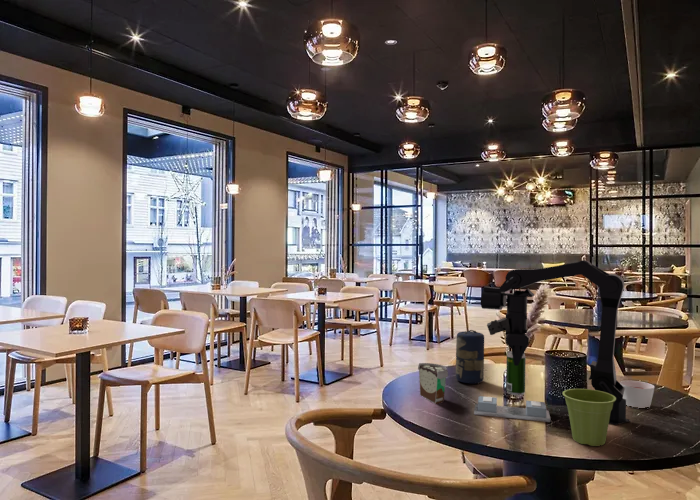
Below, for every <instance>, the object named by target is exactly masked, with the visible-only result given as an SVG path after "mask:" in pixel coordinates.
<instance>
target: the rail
mask: <svg viewBox="0 0 700 500" xmlns="http://www.w3.org/2000/svg"><path fill="white" fill-rule="evenodd" d="M473 414H474V415H476V416H488V417H494V418H495V417H496V418H497V417H498V418H506V419H515V420H526V421H527V420H528V421H535V422H544V423H551V416H550V411H549V410H547V409H546V417H537V416H527V413H526V407H525V408H524V407H518V406H517V407H514V406H505V405H503V406H502V405H497V409H496V412H487V411H478V403H475V405H474V409H473Z"/></svg>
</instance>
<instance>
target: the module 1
mask: <svg viewBox="0 0 700 500" xmlns="http://www.w3.org/2000/svg"><path fill="white" fill-rule="evenodd" d="M497 403H498V397H492V396H483V395H482V396H481V395H480V396H478V399H477V404H478V411H487V412H496V409H497V406H498V405H497Z"/></svg>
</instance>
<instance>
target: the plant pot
mask: <svg viewBox="0 0 700 500" xmlns="http://www.w3.org/2000/svg"><path fill="white" fill-rule="evenodd" d="M562 395H563V397H564V399H565V404H566V406H567V407H566V408H567V412H568V418H569V422H570V423H569V424H570V429H571V437H572V439H573V440H574V441H575V442H577V443H578V444H581V445H589V446H591V447H598V446H599V447H600V445H601V446H603V445H605V443H606V440H607V436H608V431H609V424H610V423H609V419H610V413H611V410H612V407H613V402H615V401H616V397H615V396H613V395H612V394H609V393H606V392H603V391H598V390H595V389H592V388H591V389H589V388H571V389H565V390H564V391H562Z"/></svg>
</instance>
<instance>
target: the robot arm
mask: <svg viewBox="0 0 700 500" xmlns="http://www.w3.org/2000/svg"><path fill="white" fill-rule="evenodd" d="M579 275H580V276H583V277H585V278H586V279H587V280H588V281H590V282H591V283H593V284H594V285H596V286H597V287H599V298H600V302H601V320H600V321H601V322H600V332H599V333H600V334H599V341H598V344H599V345H598V346H599V347H598V354H597V355H598V357H597V360H596V361H595V360H592V361H591V362H590V365H589V368H590V370H589V371H590V375H589V378H588V380H589V381H590V380H591V381H590V383H591V387H592V388H593V390H598V391H603V392H606V393H609V394H612V395H613V396H615V397H616V401H615V402H613V407H612V410H611V413H610V419H609V424H611V425H614V426H617V425H621V424H624V423H629V422H630V419H628V418H627V406H626V399H623V394H624V391H625V388H624V387H623V386H622V385H621V384H620V381H619V380H617V373H616V372H617V371H616V364H615V359H614V357H615V344H616V334H617V332H616V331H617V321H618V320H617V319H618V309H619V306H620V303H621V302H620V301H621V299H622V295H623V291H624V289H625V281H624V279H623V278H622V277H621V276H620V275H618V274H615V273H613V274H612V273H611V274H610V273H609V272H606V271H605V270H604V269H601V268H600V267H598V266H596V265H594V264H592V263H591V262H590V261H588V260H586V259H585V260H583V259H581V260H580V261H575V262H571V263H565V264H559V265H554V266H547V267H542V268H515V269H511V270H509V271H508V272H507V273H506V274H505V280H504V281H503V283H502V285H500V286H499V287H493V286H492V287H490V286H483V288H482V290H483V291H482V293H481V297H480V306H481V309H483V310H485V309H487V310H494V311H495V310H498V311H501V310H502V309H503V308H505V307H506V314H505V317H504V318H500V319H494V320H491V321H490V322H487V323H486V326H487V329H488V332H489V335H490V336H493V335H496V334H499V333H501V332H504V331H505V344H506V345H507V346H508V347H509V348H510V349H511V350H510V351H512V355H513V361H514V365H515V366H518V365H519V363H520V360H521V358H522V356H523V354H524V353H525V352H526V349H527V348H528V346H530V344H529V343H530V341H529V340H530V337H529V336H528V329H527V327H528V326H527V325H528V298H533V297H534V296H535V293H534V292H533V291H532V290H531V289H530V288H525V290H518V289H522V288H524V287H528V286H531V285H534V284H536V283H539V282H544V281H549V280H555V279H556V280H557V279H561V278H567V277H568V278H569V277H574V276H579ZM513 290H514V292H513V293H512V292H511V293H510V291H513ZM525 333H527V335H526V334H525Z"/></svg>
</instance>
